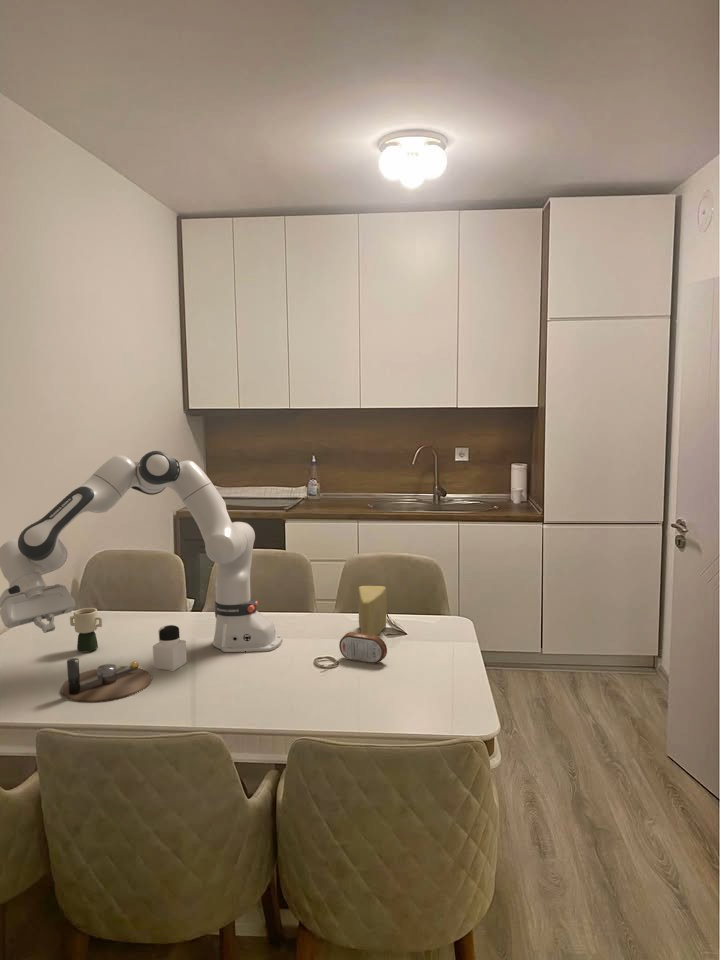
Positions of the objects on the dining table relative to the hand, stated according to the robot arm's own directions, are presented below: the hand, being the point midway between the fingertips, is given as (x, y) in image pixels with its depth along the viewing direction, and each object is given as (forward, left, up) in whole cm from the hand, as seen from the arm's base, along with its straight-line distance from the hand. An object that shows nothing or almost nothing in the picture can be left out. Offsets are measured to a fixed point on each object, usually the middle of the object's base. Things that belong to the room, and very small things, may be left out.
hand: (49, 630), depth 209 cm
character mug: (+5, -28, -16) cm, 33 cm away
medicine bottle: (-27, -18, -16) cm, 36 cm away
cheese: (-83, -51, -16) cm, 99 cm away
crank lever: (-15, -2, -15) cm, 21 cm away
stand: (-15, -2, -16) cm, 22 cm away
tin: (-84, -28, -16) cm, 90 cm away
